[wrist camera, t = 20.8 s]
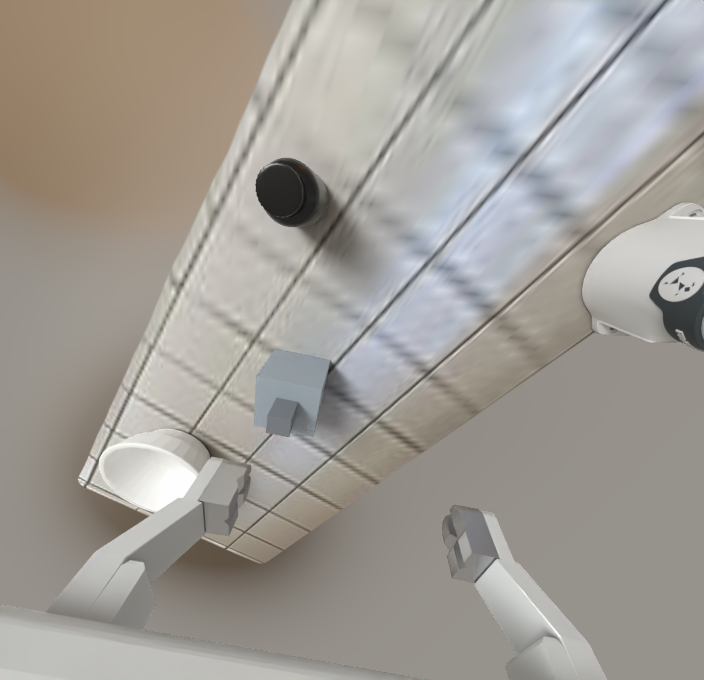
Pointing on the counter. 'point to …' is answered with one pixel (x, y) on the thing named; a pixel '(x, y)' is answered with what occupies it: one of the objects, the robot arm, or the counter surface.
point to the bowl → (153, 467)
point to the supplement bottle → (291, 193)
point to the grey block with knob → (290, 393)
